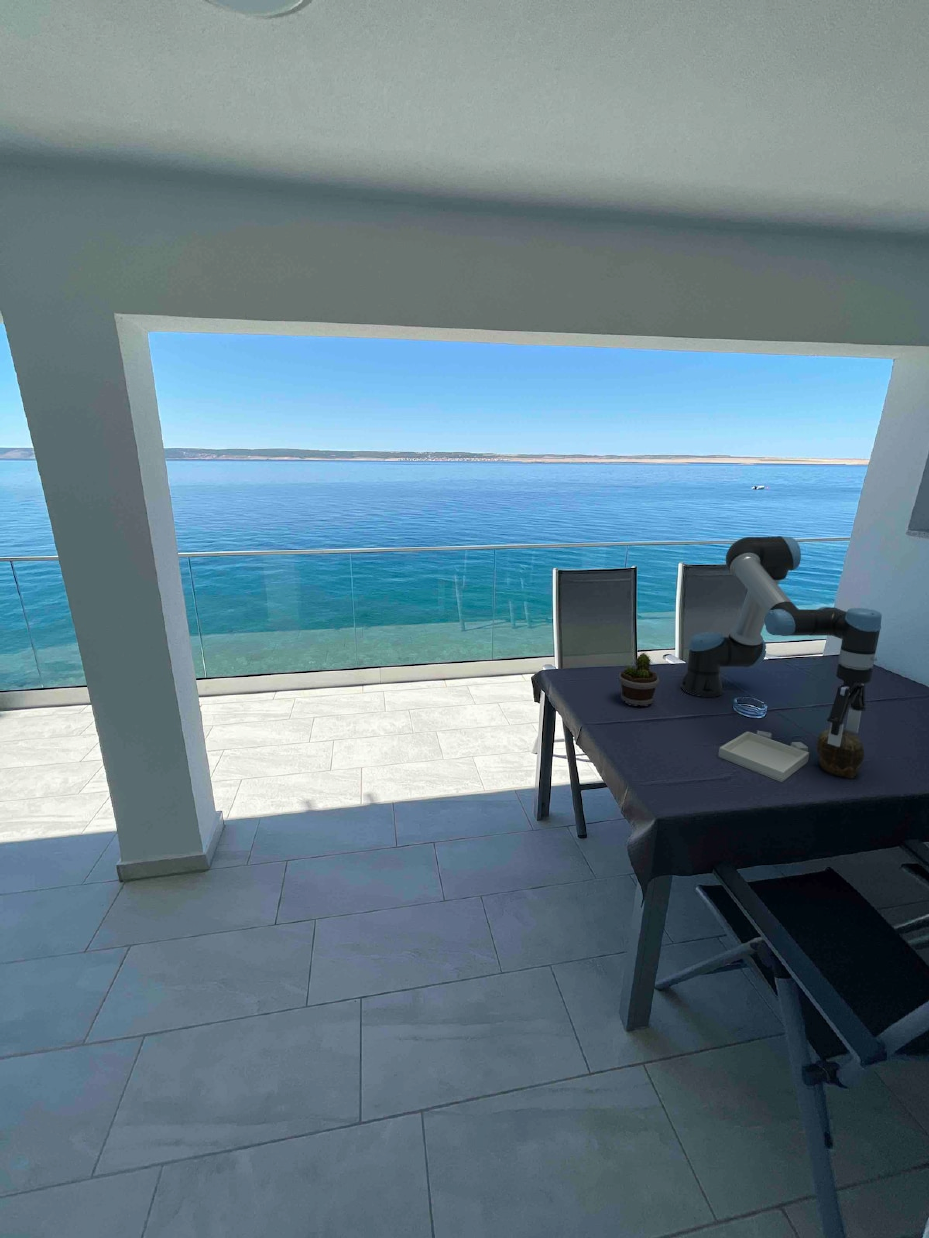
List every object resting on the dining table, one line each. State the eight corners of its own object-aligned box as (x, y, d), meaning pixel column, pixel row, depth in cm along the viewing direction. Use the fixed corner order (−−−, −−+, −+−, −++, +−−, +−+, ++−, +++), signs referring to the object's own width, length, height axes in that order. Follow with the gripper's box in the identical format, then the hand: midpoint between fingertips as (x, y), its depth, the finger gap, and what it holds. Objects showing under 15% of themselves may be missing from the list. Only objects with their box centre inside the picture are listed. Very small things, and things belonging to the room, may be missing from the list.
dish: (718, 756, 152) (719, 747, 151) (746, 739, 162) (747, 731, 161) (781, 782, 138) (783, 772, 137) (807, 761, 148) (809, 752, 148)
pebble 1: (755, 740, 162) (756, 733, 161) (756, 736, 164) (757, 730, 164) (770, 743, 160) (771, 736, 159) (770, 739, 162) (771, 733, 161)
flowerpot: (645, 714, 182) (649, 661, 177) (608, 701, 193) (611, 652, 188) (665, 703, 191) (669, 652, 186) (629, 691, 202) (632, 644, 197)
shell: (803, 761, 149) (810, 724, 146) (838, 759, 149) (845, 722, 146) (833, 781, 138) (840, 742, 135) (870, 779, 139) (878, 740, 136)
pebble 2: (790, 748, 156) (791, 742, 156) (799, 748, 156) (800, 742, 156) (798, 754, 153) (799, 748, 152) (807, 754, 153) (808, 747, 152)
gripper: (855, 679, 126) (842, 756, 131) (887, 660, 140) (874, 730, 145) (821, 671, 132) (809, 745, 137) (854, 653, 146) (843, 721, 151)
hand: (842, 737), depth 141 cm, fingers open, 13 cm apart
